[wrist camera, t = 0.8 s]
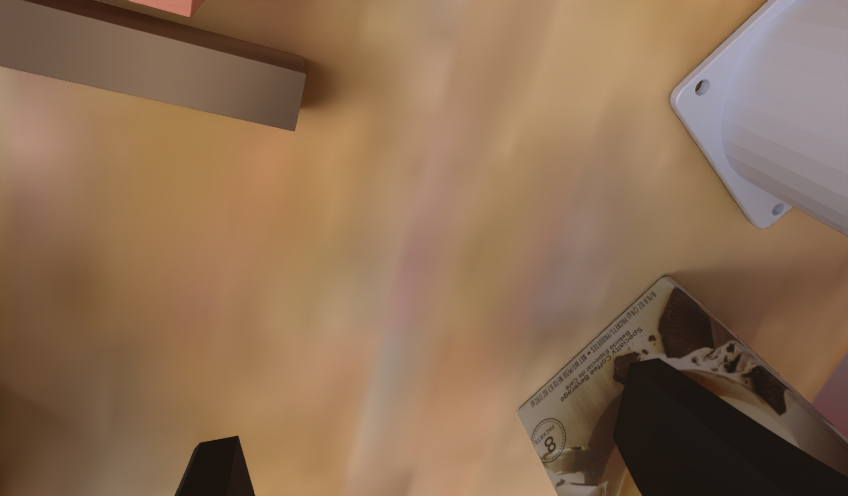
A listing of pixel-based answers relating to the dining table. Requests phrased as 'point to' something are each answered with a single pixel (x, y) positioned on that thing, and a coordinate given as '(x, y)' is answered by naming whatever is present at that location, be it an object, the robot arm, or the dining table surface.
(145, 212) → the dining table surface
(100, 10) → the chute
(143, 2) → the block
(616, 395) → the coffee box
